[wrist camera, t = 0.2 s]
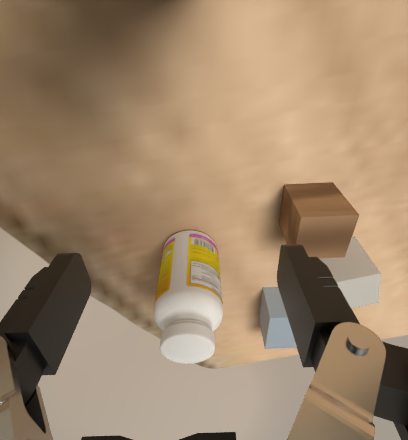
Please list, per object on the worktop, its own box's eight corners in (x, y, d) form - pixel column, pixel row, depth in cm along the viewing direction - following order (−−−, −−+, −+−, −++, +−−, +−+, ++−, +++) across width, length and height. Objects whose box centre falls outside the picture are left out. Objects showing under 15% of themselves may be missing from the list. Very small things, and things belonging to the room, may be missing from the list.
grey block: (311, 245, 34) (330, 283, 29) (354, 236, 33) (381, 273, 28) (315, 273, 37) (332, 311, 32) (354, 264, 36) (378, 303, 31)
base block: (262, 286, 38) (270, 318, 34) (313, 284, 38) (327, 316, 34) (258, 317, 42) (265, 348, 38) (304, 315, 42) (315, 347, 38)
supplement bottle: (171, 271, 36) (159, 373, 26) (156, 232, 32) (135, 333, 22) (222, 264, 35) (231, 365, 25) (213, 223, 32) (218, 322, 21)
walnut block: (284, 184, 29) (301, 217, 24) (332, 182, 29) (359, 214, 24) (278, 222, 32) (293, 259, 27) (322, 221, 32) (344, 257, 27)
